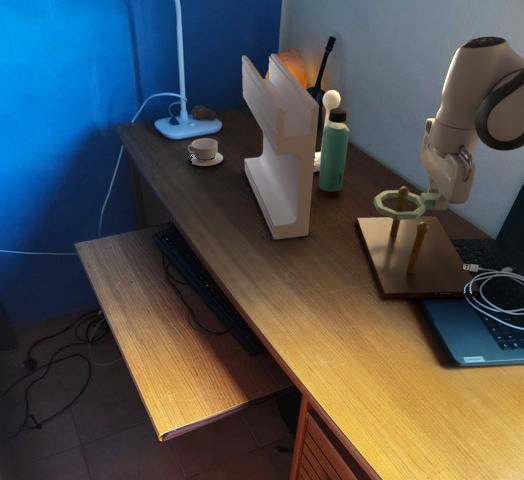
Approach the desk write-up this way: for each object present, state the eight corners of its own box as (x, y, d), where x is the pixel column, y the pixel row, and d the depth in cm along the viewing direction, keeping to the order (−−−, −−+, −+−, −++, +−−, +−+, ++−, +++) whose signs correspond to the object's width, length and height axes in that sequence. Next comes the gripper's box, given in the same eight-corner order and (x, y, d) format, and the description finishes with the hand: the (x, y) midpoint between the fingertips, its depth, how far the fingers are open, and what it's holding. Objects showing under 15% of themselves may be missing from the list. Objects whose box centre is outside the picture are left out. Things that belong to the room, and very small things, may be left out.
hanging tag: (437, 194, 104) (440, 184, 102) (452, 219, 97) (456, 208, 95) (370, 195, 104) (372, 184, 102) (380, 220, 96) (383, 209, 95)
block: (307, 235, 107) (319, 105, 87) (273, 239, 106) (277, 108, 86) (272, 168, 131) (275, 53, 110) (244, 171, 129) (241, 55, 109)
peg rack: (434, 221, 111) (450, 170, 102) (477, 296, 92) (501, 242, 83) (356, 223, 111) (364, 172, 102) (383, 299, 91) (396, 244, 82)
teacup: (226, 153, 137) (225, 137, 134) (219, 168, 130) (218, 152, 127) (193, 151, 138) (191, 135, 135) (184, 166, 131) (182, 149, 128)
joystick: (339, 176, 128) (349, 97, 113) (313, 179, 126) (320, 99, 112) (324, 159, 135) (332, 82, 121) (299, 161, 134) (305, 85, 119)
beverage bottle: (339, 199, 119) (350, 116, 104) (314, 195, 120) (321, 113, 106) (344, 187, 123) (355, 106, 109) (319, 183, 124) (327, 103, 110)
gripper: (491, 159, 83) (466, 227, 93) (453, 116, 97) (434, 179, 107) (457, 159, 83) (435, 228, 93) (423, 116, 97) (407, 180, 107)
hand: (434, 201), depth 100 cm, fingers closed on hanging tag, 3 cm apart
